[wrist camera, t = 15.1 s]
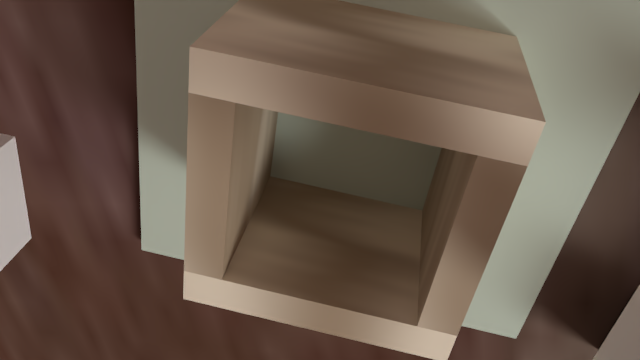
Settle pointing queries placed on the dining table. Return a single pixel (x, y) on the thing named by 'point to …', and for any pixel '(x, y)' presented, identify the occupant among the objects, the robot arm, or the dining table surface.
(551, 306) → the dining table surface
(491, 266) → the mat
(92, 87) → the dining table surface
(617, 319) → the box
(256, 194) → the collar
